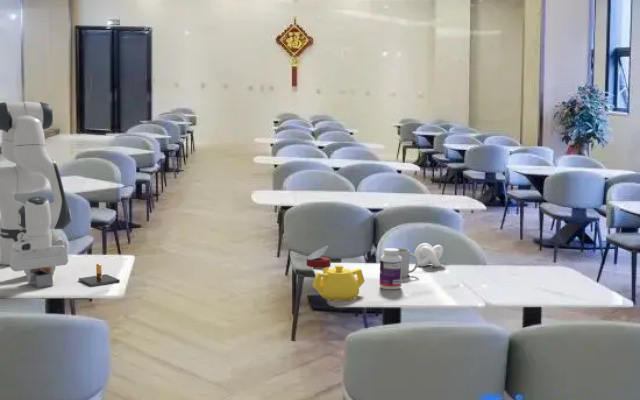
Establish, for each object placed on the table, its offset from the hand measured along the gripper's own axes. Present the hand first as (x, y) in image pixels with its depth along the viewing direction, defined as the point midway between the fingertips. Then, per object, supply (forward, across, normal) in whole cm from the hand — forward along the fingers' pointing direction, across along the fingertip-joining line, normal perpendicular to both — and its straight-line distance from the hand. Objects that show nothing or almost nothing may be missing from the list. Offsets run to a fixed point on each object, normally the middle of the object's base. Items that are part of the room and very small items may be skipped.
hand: (40, 279), depth 297 cm
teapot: (+2, -77, +75) cm, 108 cm away
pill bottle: (+2, -100, +79) cm, 127 cm away
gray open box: (+2, 0, 0) cm, 2 cm away
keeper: (+2, -19, +8) cm, 21 cm away
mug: (+2, -117, +67) cm, 135 cm away
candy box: (+2, -6, -15) cm, 16 cm away
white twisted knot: (+2, -140, +62) cm, 153 cm away
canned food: (+2, -103, +34) cm, 108 cm away
